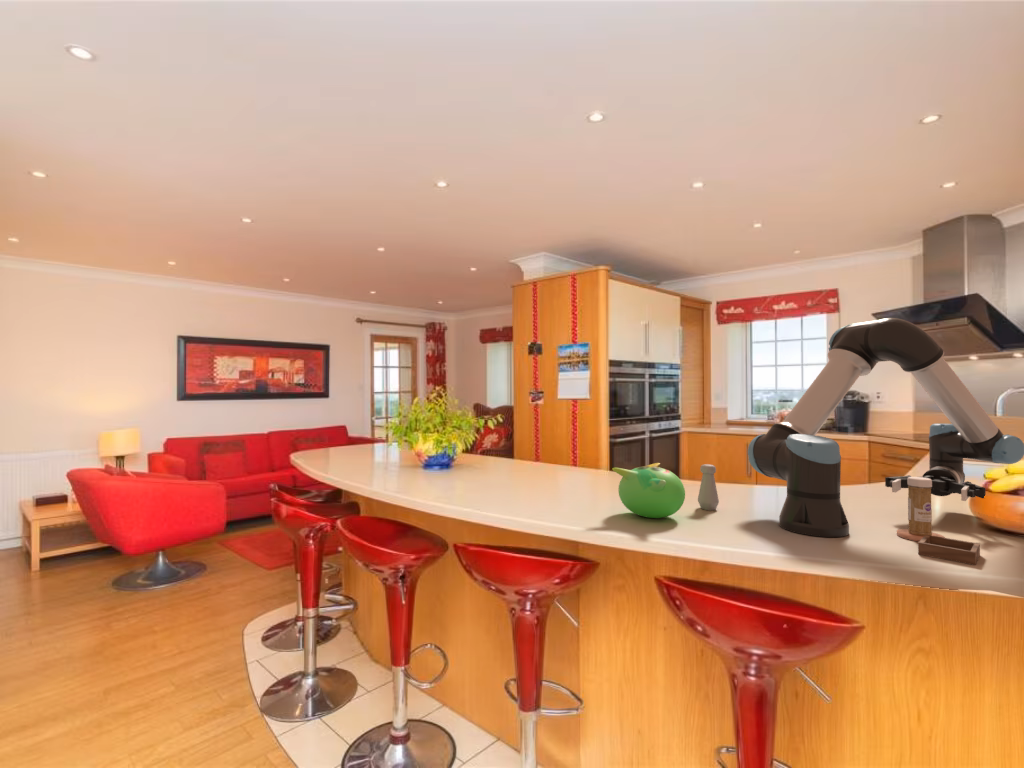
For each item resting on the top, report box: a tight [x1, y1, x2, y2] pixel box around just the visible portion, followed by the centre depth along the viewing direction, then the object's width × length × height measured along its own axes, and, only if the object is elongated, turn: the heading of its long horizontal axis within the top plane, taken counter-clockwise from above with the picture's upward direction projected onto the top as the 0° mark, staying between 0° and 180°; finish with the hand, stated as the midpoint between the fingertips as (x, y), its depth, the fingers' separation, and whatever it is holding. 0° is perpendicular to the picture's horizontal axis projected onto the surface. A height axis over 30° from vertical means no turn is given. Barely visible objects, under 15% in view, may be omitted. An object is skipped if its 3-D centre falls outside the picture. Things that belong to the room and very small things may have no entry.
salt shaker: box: [697, 463, 720, 511], centre depth 149 cm, size 6×6×13 cm
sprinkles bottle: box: [907, 476, 933, 536], centre depth 120 cm, size 5×5×14 cm
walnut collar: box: [917, 535, 981, 566], centre depth 107 cm, size 9×9×2 cm
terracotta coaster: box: [896, 528, 946, 543], centre depth 120 cm, size 9×9×1 cm
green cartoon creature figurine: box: [611, 462, 686, 519], centre depth 138 cm, size 18×17×15 cm
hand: (927, 491), depth 126 cm, fingers open, 13 cm apart
